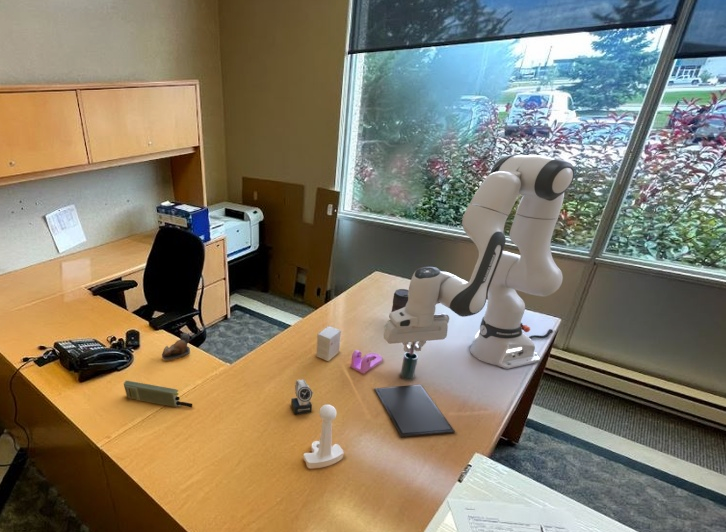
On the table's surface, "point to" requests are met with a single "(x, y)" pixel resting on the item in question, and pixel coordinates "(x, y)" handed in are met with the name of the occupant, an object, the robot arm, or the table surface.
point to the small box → (328, 343)
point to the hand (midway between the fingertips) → (412, 350)
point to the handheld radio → (153, 394)
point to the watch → (302, 398)
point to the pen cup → (409, 366)
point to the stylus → (412, 350)
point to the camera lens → (400, 299)
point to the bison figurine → (177, 348)
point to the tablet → (413, 411)
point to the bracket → (364, 361)
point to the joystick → (324, 442)
